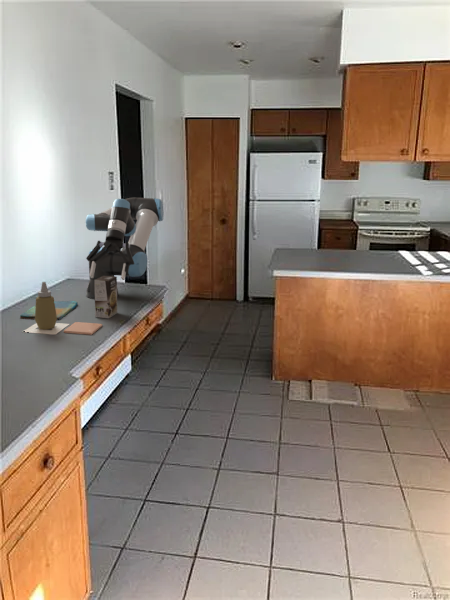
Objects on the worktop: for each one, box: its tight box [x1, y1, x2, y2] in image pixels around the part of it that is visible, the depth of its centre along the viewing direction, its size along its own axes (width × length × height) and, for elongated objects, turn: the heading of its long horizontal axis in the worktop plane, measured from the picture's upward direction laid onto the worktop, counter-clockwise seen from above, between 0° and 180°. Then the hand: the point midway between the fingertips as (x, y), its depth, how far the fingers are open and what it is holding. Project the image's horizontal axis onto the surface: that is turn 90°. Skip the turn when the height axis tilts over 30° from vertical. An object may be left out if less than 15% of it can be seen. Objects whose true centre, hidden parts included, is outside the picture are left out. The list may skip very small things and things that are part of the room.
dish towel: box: [19, 300, 79, 321], centre depth 216 cm, size 17×23×2 cm
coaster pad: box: [63, 321, 103, 335], centre depth 194 cm, size 11×11×1 cm
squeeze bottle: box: [34, 281, 58, 329], centre depth 192 cm, size 8×8×18 cm
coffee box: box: [94, 275, 118, 319], centre depth 211 cm, size 9×6×16 cm
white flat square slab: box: [23, 322, 70, 336], centre depth 194 cm, size 13×13×1 cm
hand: (106, 277), depth 210 cm, fingers open, 13 cm apart
